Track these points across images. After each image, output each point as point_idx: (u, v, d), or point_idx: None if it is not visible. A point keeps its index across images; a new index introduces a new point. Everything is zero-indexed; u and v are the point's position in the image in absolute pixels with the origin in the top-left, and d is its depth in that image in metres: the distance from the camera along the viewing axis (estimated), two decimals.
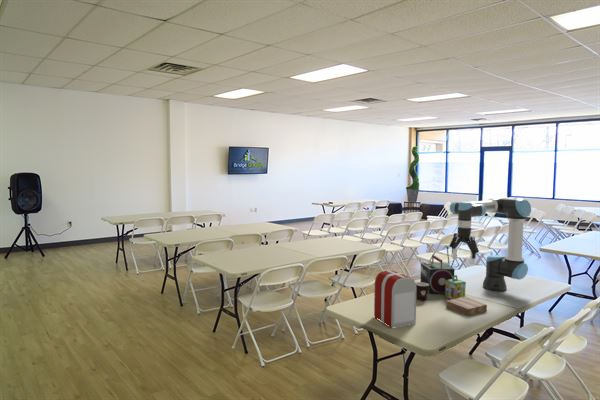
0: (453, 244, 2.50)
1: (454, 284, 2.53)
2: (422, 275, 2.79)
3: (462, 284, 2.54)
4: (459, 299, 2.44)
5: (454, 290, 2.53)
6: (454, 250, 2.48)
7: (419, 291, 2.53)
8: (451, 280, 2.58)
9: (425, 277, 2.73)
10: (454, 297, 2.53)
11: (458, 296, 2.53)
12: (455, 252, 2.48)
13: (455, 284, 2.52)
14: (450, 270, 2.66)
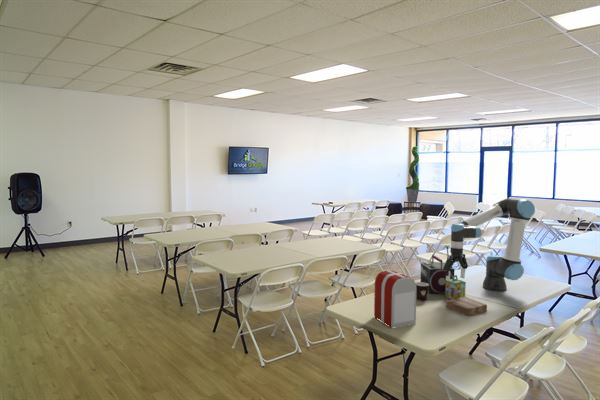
0: (466, 265, 2.60)
1: (454, 284, 2.53)
2: (422, 275, 2.79)
3: (462, 284, 2.54)
4: (459, 299, 2.44)
5: (454, 290, 2.53)
6: (461, 269, 2.60)
7: (419, 291, 2.53)
8: (451, 280, 2.58)
9: (425, 277, 2.73)
10: (454, 297, 2.53)
11: (458, 296, 2.53)
12: (462, 272, 2.59)
13: (455, 284, 2.52)
14: (450, 270, 2.66)
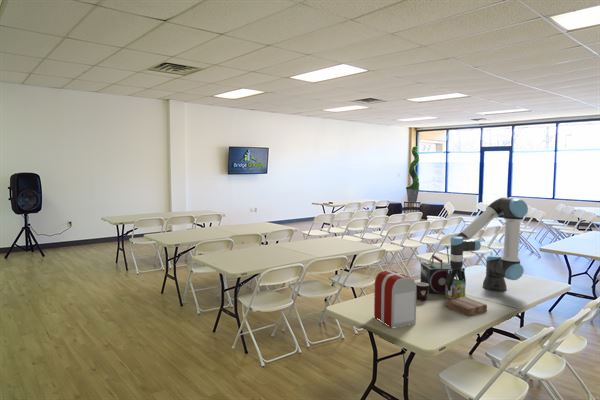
0: (464, 279, 2.60)
1: (454, 284, 2.53)
2: (422, 275, 2.79)
3: (462, 284, 2.54)
4: (459, 299, 2.44)
5: (454, 290, 2.53)
6: None
7: (419, 291, 2.53)
8: None
9: (425, 277, 2.73)
10: (454, 297, 2.53)
11: (458, 296, 2.53)
12: None
13: (455, 284, 2.52)
14: None
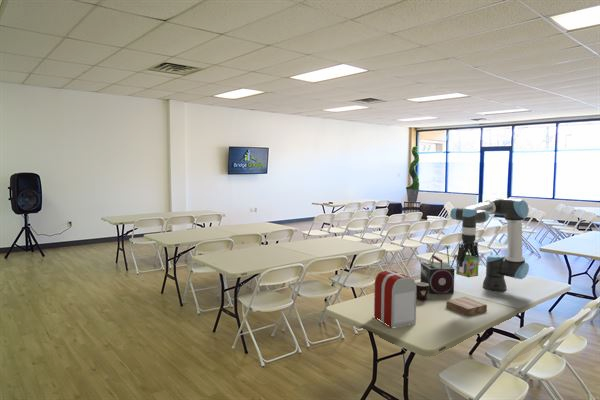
0: None
1: (466, 259, 2.31)
2: (422, 275, 2.79)
3: (475, 259, 2.33)
4: (459, 299, 2.44)
5: (466, 265, 2.32)
6: None
7: (419, 291, 2.53)
8: None
9: (425, 277, 2.73)
10: (466, 273, 2.32)
11: (471, 272, 2.32)
12: None
13: (467, 259, 2.31)
14: (450, 270, 2.66)
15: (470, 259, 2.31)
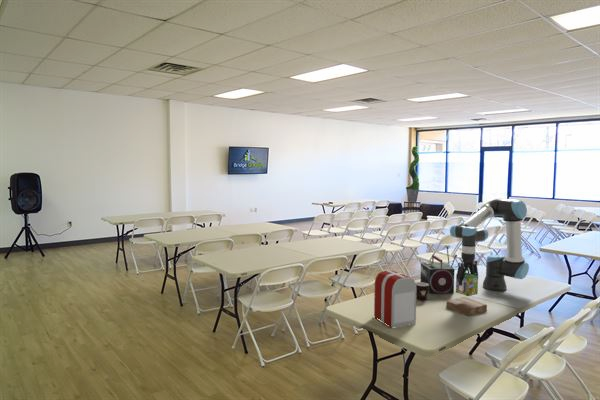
0: (476, 273, 2.39)
1: (466, 278, 2.32)
2: (422, 275, 2.79)
3: (474, 278, 2.34)
4: (459, 299, 2.44)
5: (465, 284, 2.32)
6: None
7: (419, 291, 2.53)
8: None
9: (425, 277, 2.73)
10: (466, 292, 2.32)
11: (470, 291, 2.32)
12: None
13: (467, 278, 2.32)
14: (450, 270, 2.66)
15: (470, 278, 2.31)
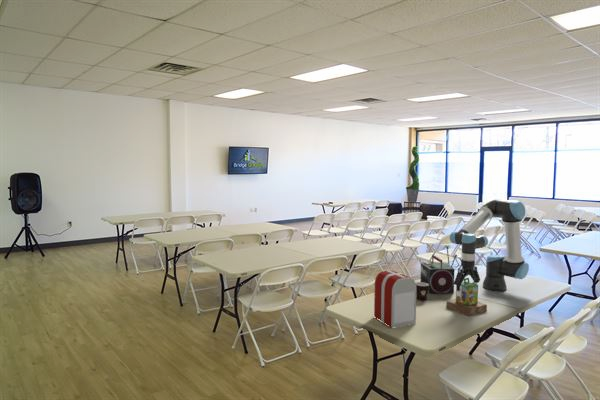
0: (478, 278, 2.40)
1: (466, 287, 2.33)
2: (422, 275, 2.79)
3: (474, 287, 2.34)
4: None
5: (465, 293, 2.33)
6: (473, 283, 2.41)
7: (419, 291, 2.53)
8: (462, 283, 2.38)
9: (425, 277, 2.73)
10: (466, 301, 2.33)
11: (470, 300, 2.33)
12: None
13: (467, 287, 2.32)
14: (450, 270, 2.66)
15: (469, 287, 2.32)
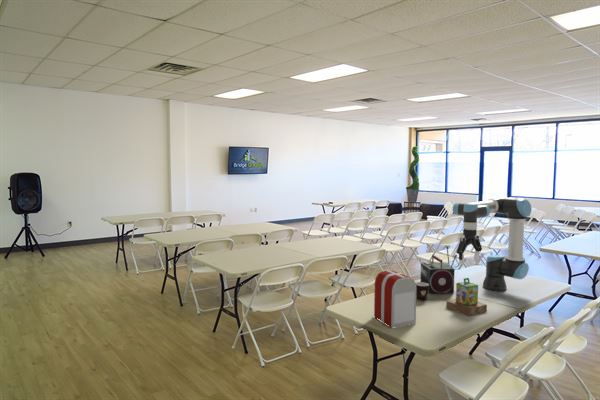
0: (480, 247, 2.42)
1: (466, 287, 2.33)
2: (422, 275, 2.79)
3: (474, 287, 2.34)
4: None
5: (465, 293, 2.33)
6: (475, 252, 2.43)
7: (419, 291, 2.53)
8: (462, 283, 2.38)
9: (425, 277, 2.73)
10: (466, 301, 2.33)
11: (470, 300, 2.33)
12: (476, 255, 2.42)
13: (467, 287, 2.32)
14: (450, 270, 2.66)
15: (469, 287, 2.32)
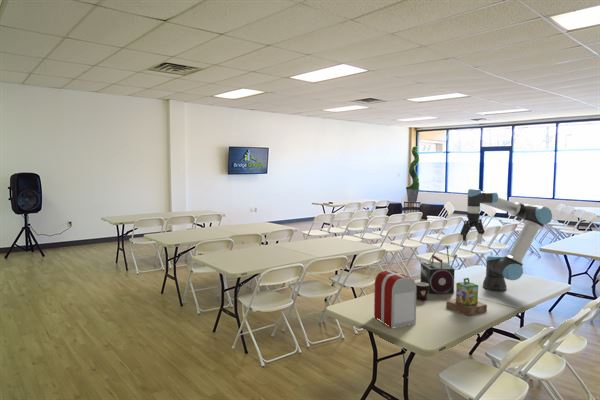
0: (482, 230, 2.61)
1: (466, 287, 2.33)
2: (422, 275, 2.79)
3: (474, 287, 2.34)
4: None
5: (465, 293, 2.33)
6: (478, 235, 2.62)
7: (419, 291, 2.53)
8: (462, 283, 2.38)
9: (425, 277, 2.73)
10: (466, 301, 2.33)
11: (470, 300, 2.33)
12: (479, 237, 2.61)
13: (467, 287, 2.32)
14: (450, 270, 2.66)
15: (469, 287, 2.32)
